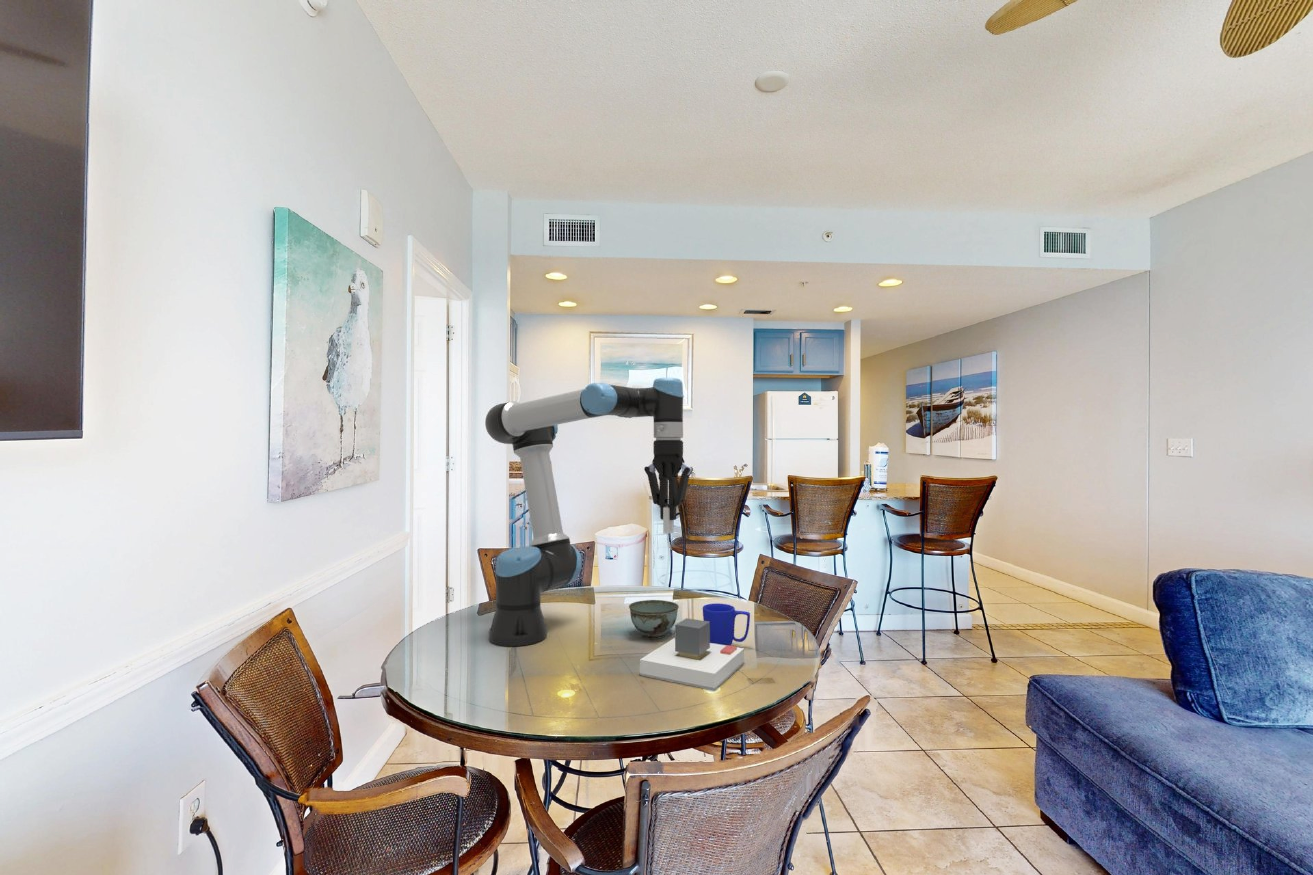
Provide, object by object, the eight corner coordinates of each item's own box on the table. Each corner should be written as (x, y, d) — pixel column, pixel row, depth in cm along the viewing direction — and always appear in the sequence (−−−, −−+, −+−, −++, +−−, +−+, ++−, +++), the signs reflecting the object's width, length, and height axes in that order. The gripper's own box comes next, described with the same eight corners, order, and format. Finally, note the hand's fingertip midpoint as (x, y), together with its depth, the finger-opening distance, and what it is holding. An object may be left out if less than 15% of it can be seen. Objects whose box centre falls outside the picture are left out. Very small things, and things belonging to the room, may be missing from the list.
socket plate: (639, 675, 135) (640, 656, 135) (675, 651, 150) (675, 634, 150) (714, 690, 126) (714, 670, 126) (744, 663, 142) (743, 645, 142)
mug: (749, 654, 148) (749, 613, 149) (700, 650, 151) (700, 610, 151) (750, 643, 156) (750, 604, 157) (704, 640, 159) (704, 602, 159)
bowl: (669, 645, 155) (669, 614, 155) (621, 639, 159) (621, 609, 160) (684, 630, 168) (684, 601, 168) (640, 625, 172) (640, 597, 172)
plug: (675, 668, 137) (675, 624, 137) (686, 660, 142) (686, 618, 142) (699, 673, 134) (699, 628, 134) (709, 664, 139) (709, 621, 140)
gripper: (638, 439, 152) (638, 533, 152) (685, 439, 146) (685, 536, 145) (652, 439, 159) (652, 529, 158) (697, 439, 153) (698, 532, 152)
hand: (668, 532), depth 152 cm, fingers closed
